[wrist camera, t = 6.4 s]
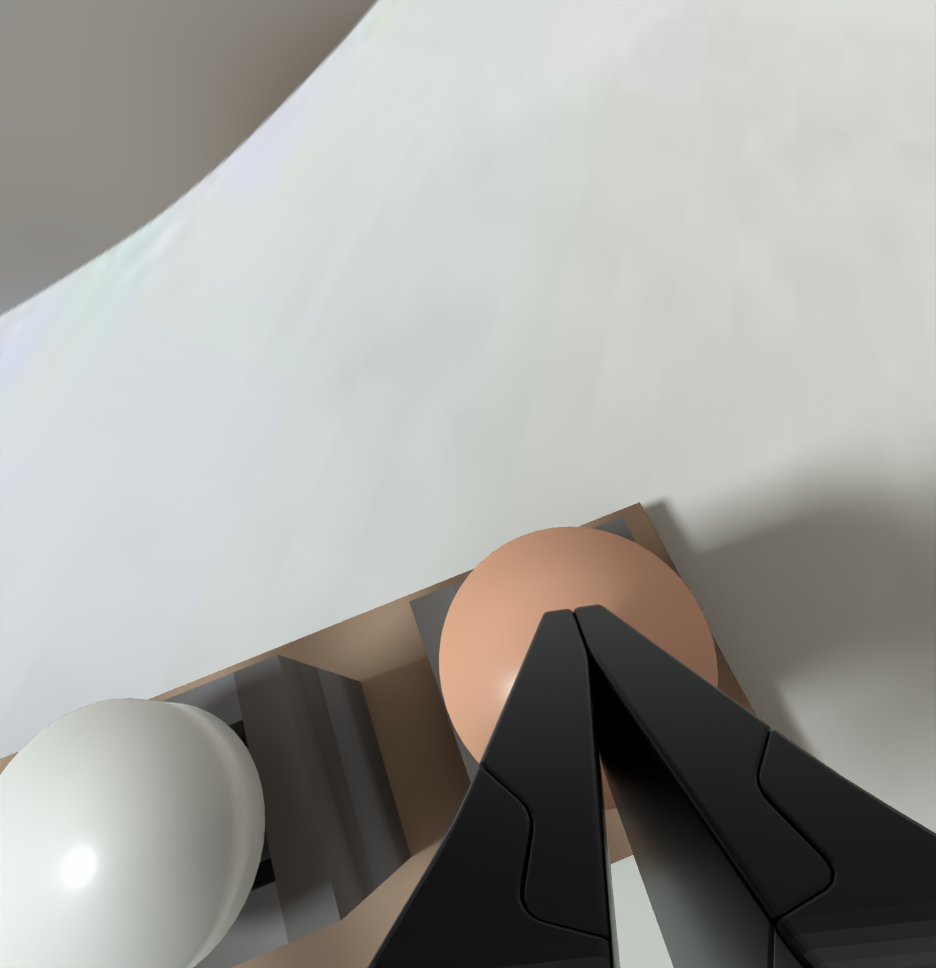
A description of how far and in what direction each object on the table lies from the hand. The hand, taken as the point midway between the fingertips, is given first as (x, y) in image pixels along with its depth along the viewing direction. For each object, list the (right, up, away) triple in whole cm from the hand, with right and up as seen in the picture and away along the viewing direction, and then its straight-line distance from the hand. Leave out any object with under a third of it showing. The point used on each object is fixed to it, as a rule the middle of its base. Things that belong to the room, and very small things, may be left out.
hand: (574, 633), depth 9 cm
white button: (-7, -5, +4) cm, 9 cm away
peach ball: (+1, -2, +4) cm, 5 cm away
